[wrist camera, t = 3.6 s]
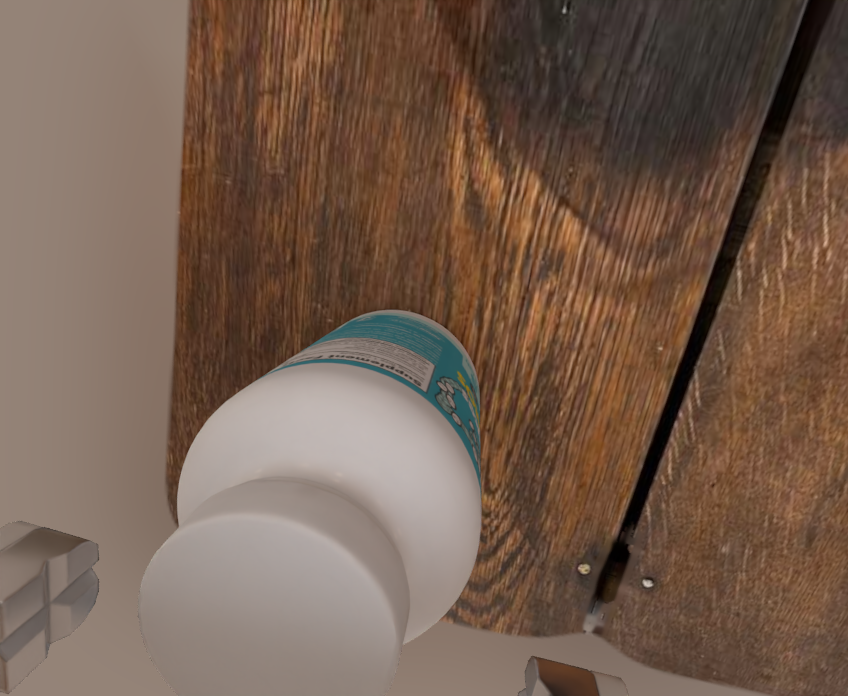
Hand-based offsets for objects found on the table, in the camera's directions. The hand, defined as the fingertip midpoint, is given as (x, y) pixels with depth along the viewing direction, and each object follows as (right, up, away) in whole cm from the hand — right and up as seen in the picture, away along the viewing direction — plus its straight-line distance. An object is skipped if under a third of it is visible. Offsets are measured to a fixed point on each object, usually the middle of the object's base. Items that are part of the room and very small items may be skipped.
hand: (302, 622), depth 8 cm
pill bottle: (+1, +3, +13) cm, 13 cm away
